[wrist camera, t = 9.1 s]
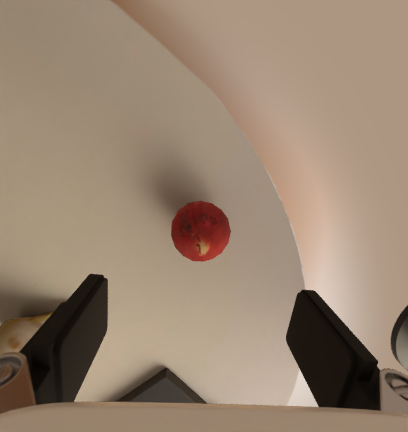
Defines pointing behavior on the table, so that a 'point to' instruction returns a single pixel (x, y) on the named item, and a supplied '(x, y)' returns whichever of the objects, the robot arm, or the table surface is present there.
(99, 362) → the table surface
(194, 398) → the scale
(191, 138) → the table surface
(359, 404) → the robot arm
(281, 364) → the table surface
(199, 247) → the onion
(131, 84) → the table surface
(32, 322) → the mug
